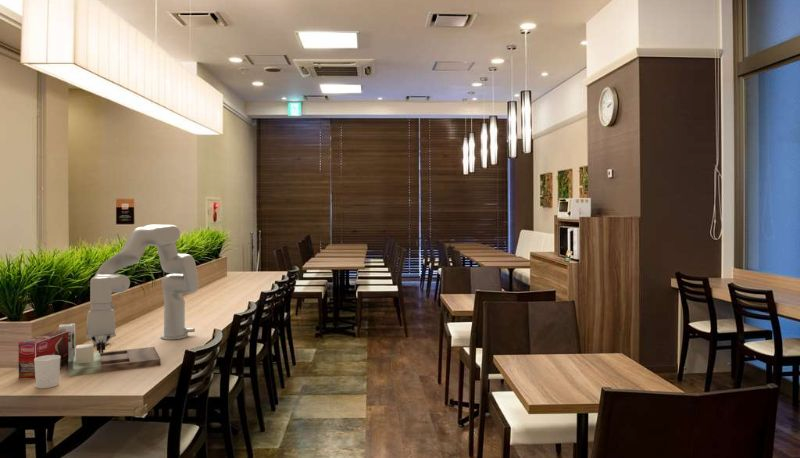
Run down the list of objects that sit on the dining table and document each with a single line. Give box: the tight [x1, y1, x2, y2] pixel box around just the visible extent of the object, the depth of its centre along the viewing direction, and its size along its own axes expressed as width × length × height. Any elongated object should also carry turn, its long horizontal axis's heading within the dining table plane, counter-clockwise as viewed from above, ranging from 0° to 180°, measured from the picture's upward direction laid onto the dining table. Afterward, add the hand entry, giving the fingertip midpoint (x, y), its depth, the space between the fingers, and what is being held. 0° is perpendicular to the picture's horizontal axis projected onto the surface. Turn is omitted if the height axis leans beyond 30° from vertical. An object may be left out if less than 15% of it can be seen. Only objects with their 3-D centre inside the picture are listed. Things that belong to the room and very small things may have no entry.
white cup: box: [34, 355, 61, 389], centre depth 192 cm, size 8×8×10 cm
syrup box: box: [58, 323, 76, 355], centre depth 227 cm, size 6×6×14 cm
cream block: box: [75, 343, 95, 364], centre depth 215 cm, size 6×6×6 cm
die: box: [90, 335, 112, 346], centre depth 253 cm, size 8×9×10 cm
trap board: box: [67, 346, 161, 377], centre depth 221 cm, size 32×23×6 cm
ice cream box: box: [17, 330, 69, 380], centre depth 210 cm, size 20×6×13 cm, turn 1°
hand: (100, 352), depth 218 cm, fingers closed
